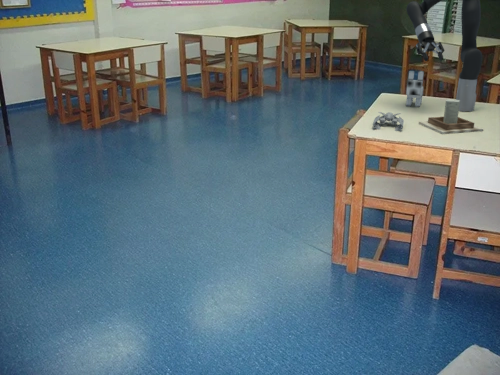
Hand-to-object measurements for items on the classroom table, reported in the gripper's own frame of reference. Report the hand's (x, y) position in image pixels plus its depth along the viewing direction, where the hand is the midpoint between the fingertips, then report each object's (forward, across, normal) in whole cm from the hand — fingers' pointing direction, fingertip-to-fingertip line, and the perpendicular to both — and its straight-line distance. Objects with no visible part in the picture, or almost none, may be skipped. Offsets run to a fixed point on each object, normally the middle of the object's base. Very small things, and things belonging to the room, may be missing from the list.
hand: (434, 59), depth 268 cm
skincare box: (+38, -4, +2) cm, 38 cm away
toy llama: (+4, +6, +37) cm, 38 cm away
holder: (+38, -4, +2) cm, 39 cm away
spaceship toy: (+32, -32, +9) cm, 46 cm away
